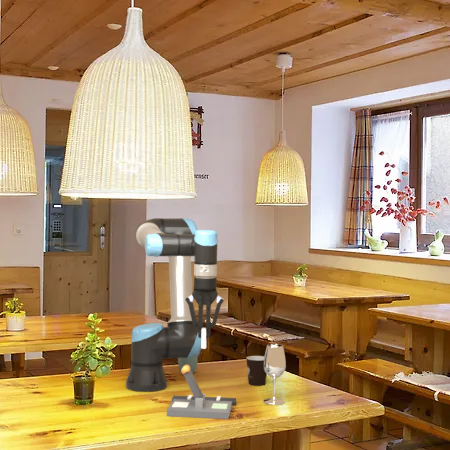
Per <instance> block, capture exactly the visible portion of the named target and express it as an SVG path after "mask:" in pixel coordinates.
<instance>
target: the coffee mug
mask: <svg viewBox="0 0 450 450" xmlns="http://www.w3.org/2000/svg"><path fill="white" fill-rule="evenodd" d="M264 357H265V355H263V356H262V355H251V356H246V359H245V360H246V370H247V378H248V385H249V384H250V386H252V385H253V386H254V387H263V386H265V385H266V382H267V375H268V374H266V372H265V371H264Z"/></svg>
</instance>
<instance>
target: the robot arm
mask: <svg viewBox="0 0 450 450" xmlns="http://www.w3.org/2000/svg"><path fill="white" fill-rule="evenodd" d="M134 232H135V233H134V234H135V235H134V238H135V240H136V242H137V244H138V245H140V246H141V247H143V248H144V251H145V254H146V256H148V257H156V258H158V257H168V268H169V269H168V272H169V275H168V276H169V292H170V293H169V295H170V299H169V300H170V319H169V320H168V321H167V323H166V324H167V326H166V327H164V324H163V323H160V322H157V323H155V322H152V323H144V324H140V325H137V326H135V327H133V329H132V331H131V338H130V342H131V349H130V350H131V355H130V358H131V359H130V360H131V361H130V363H131V364H130V369H129V372H128V375H127V378H126V381H125V385H126V386H125V388H126V389H128V390H131V391H135V392H144V393H145V392H158V391H162V390H165V389H167V387H168V385H167V384H168V381H167V377H166V374H165V370H164V368H163V359H178V358H190V357H197V356H199V355H200V353H201V350H202V349H203V350H206V349H207V348H208V347H207V343H208V342H207V340H208V339H210V337H211V328H215V326H216V325H217V322H218V317H219V313H220V310H221V307H222V304H223V303H224V301H225V298H224V297H221V296H220V295H219V293H218V292H217V291H218V290H217V287H218V286H217V285H218V284H217V283H218V282H217V278H216V277H217V276H218V275H217V274H218V242H219V239H218V231H216V230H212V229H198V228H197V224H196V222H195V221H194V220H193V219H192V218H159V217H158V218H157V217H156V218H150V219H147V220H144V221H143V222H141V223H140V224H138V226H137V227H136V228H135V231H134ZM192 257H194V260H193V261H194V262H193V263H194V265H193V271H194V272H193V274H192ZM192 275H194V276H195V277H194V278H193V276H192ZM192 278H193V279H192ZM215 300H216V303H217V304H216V306H215V311H214V314H213V318H212V322H211V315H212V314H211V313H212V304H213V303H214V302H215ZM194 301H195V302H196V303H197V305H198V307H197V308H198V316H196V311H195V306H194ZM204 306H205V311H206V312H205V314H206V315H205V327H203V326H204V325H203V324H204V323H203V321H204ZM197 317H198V320H197Z"/></svg>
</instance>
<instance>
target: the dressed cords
mask: <svg viewBox="0 0 450 450" xmlns="http://www.w3.org/2000/svg"><path fill="white" fill-rule="evenodd" d="M173 399H185V400H195V398H194V395H193V394H188V395H172V397H171V402H172V401H173ZM205 400H210V401H232V406H236V404H237V398H236V397H222V396H221V395H217V396H205Z"/></svg>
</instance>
